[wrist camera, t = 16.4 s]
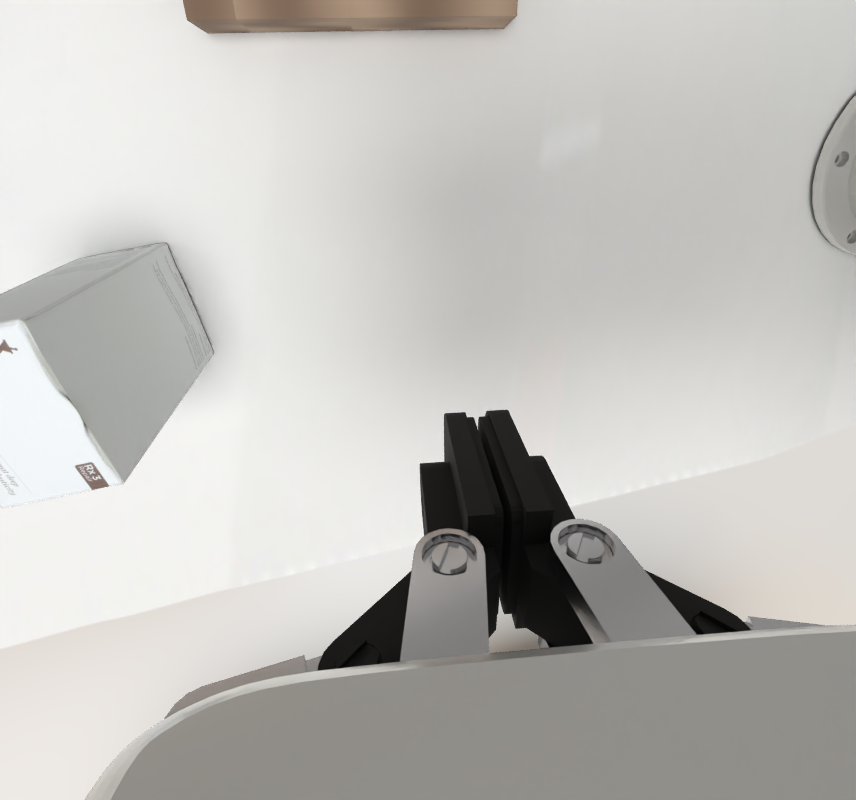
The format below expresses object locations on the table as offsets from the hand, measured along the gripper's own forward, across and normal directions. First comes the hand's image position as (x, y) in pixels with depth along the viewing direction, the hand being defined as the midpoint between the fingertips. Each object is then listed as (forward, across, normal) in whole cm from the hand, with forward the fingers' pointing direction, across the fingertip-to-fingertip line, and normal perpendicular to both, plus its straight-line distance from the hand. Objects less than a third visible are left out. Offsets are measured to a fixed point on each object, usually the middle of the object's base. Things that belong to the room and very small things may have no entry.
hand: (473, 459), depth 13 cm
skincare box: (+22, +18, +2) cm, 29 cm away
